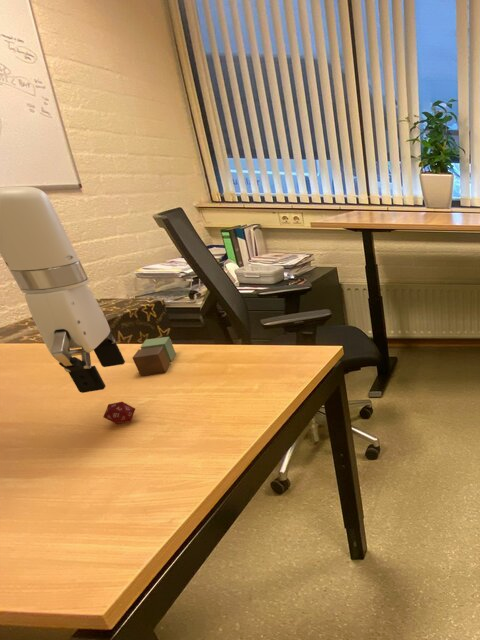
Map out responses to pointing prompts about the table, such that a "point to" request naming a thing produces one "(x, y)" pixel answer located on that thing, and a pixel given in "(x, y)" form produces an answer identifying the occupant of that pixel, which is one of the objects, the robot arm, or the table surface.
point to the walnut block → (151, 361)
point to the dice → (119, 412)
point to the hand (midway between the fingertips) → (104, 377)
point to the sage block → (159, 343)
